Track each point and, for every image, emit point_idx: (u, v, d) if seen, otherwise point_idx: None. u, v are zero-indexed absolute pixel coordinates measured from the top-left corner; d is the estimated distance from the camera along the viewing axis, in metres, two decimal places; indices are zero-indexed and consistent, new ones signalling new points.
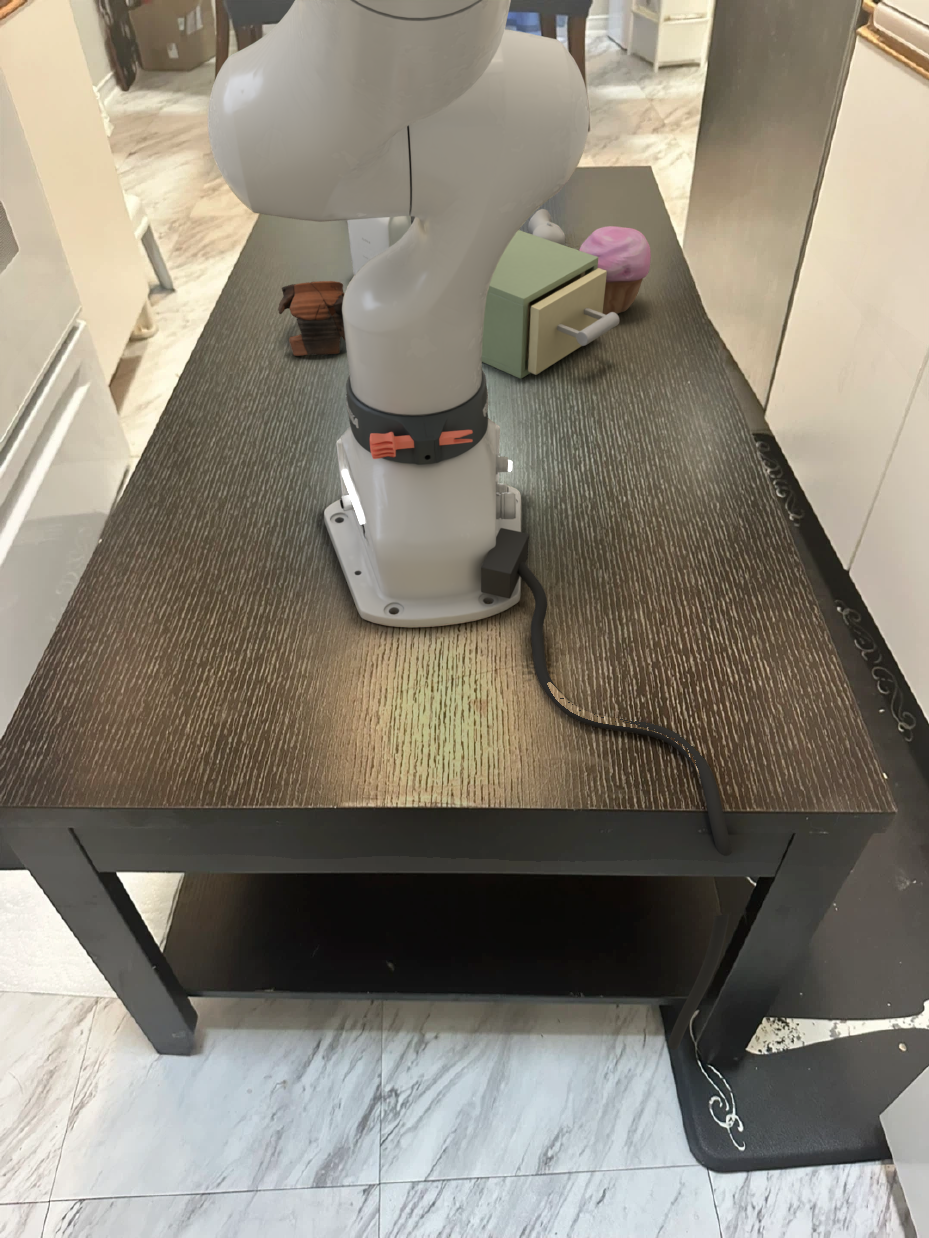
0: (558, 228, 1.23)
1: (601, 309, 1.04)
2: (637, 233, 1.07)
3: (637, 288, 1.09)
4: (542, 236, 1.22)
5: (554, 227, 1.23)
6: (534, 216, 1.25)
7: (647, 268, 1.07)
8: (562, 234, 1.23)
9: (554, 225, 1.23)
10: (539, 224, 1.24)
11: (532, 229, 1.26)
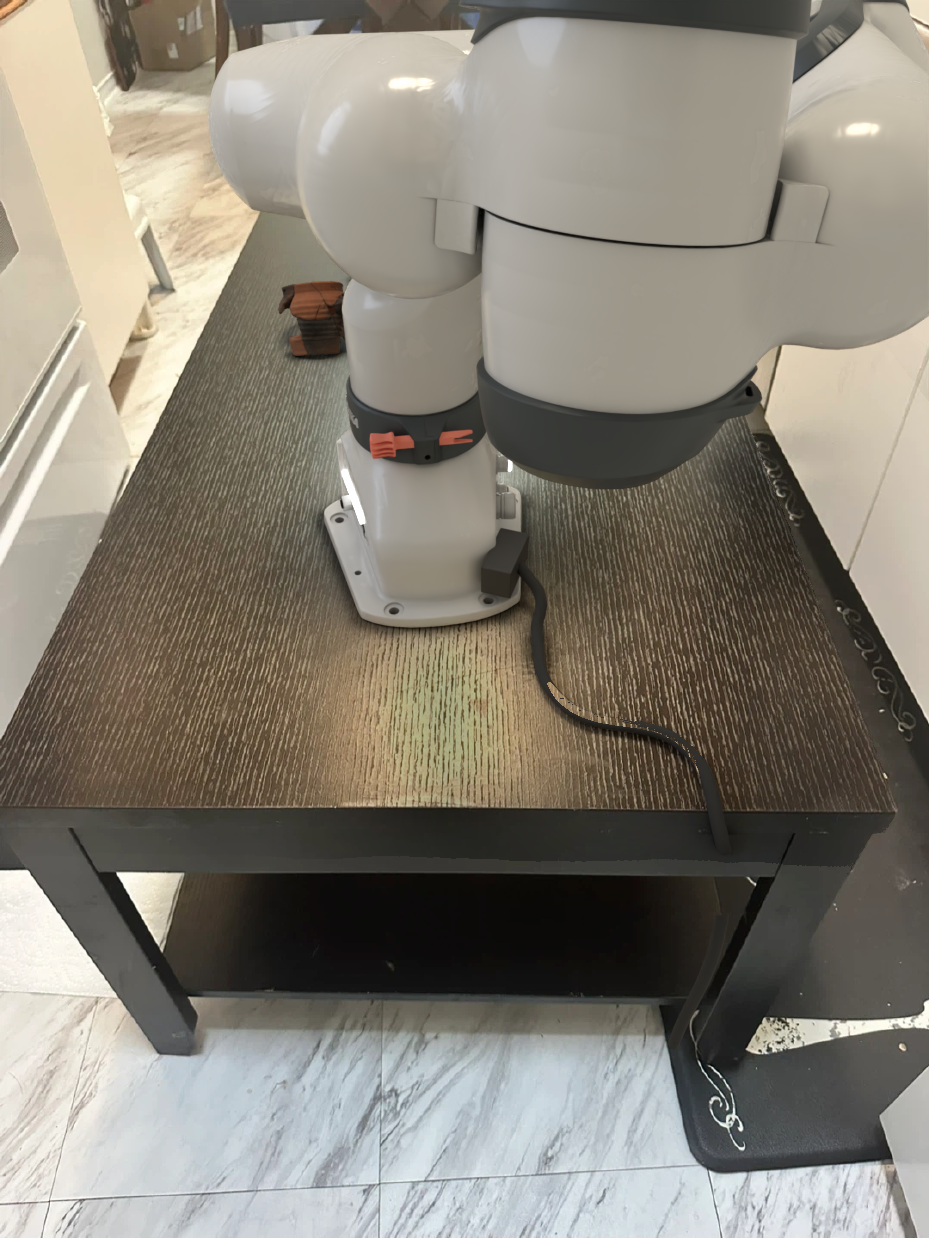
0: None
1: None
2: None
3: None
4: None
5: None
6: None
7: None
8: None
9: None
10: None
11: None
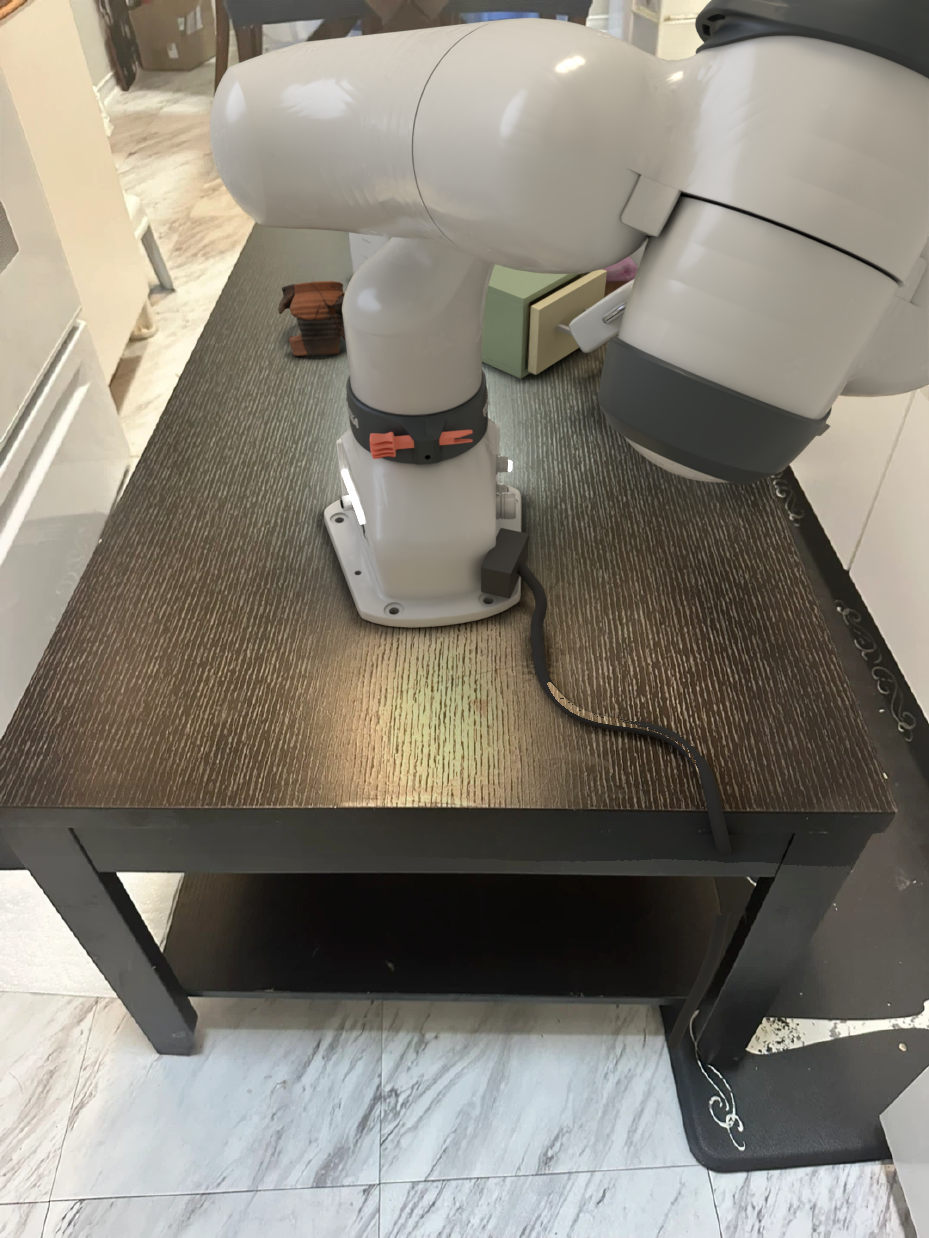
0: None
1: None
2: None
3: None
4: None
5: None
6: None
7: None
8: None
9: None
10: None
11: None
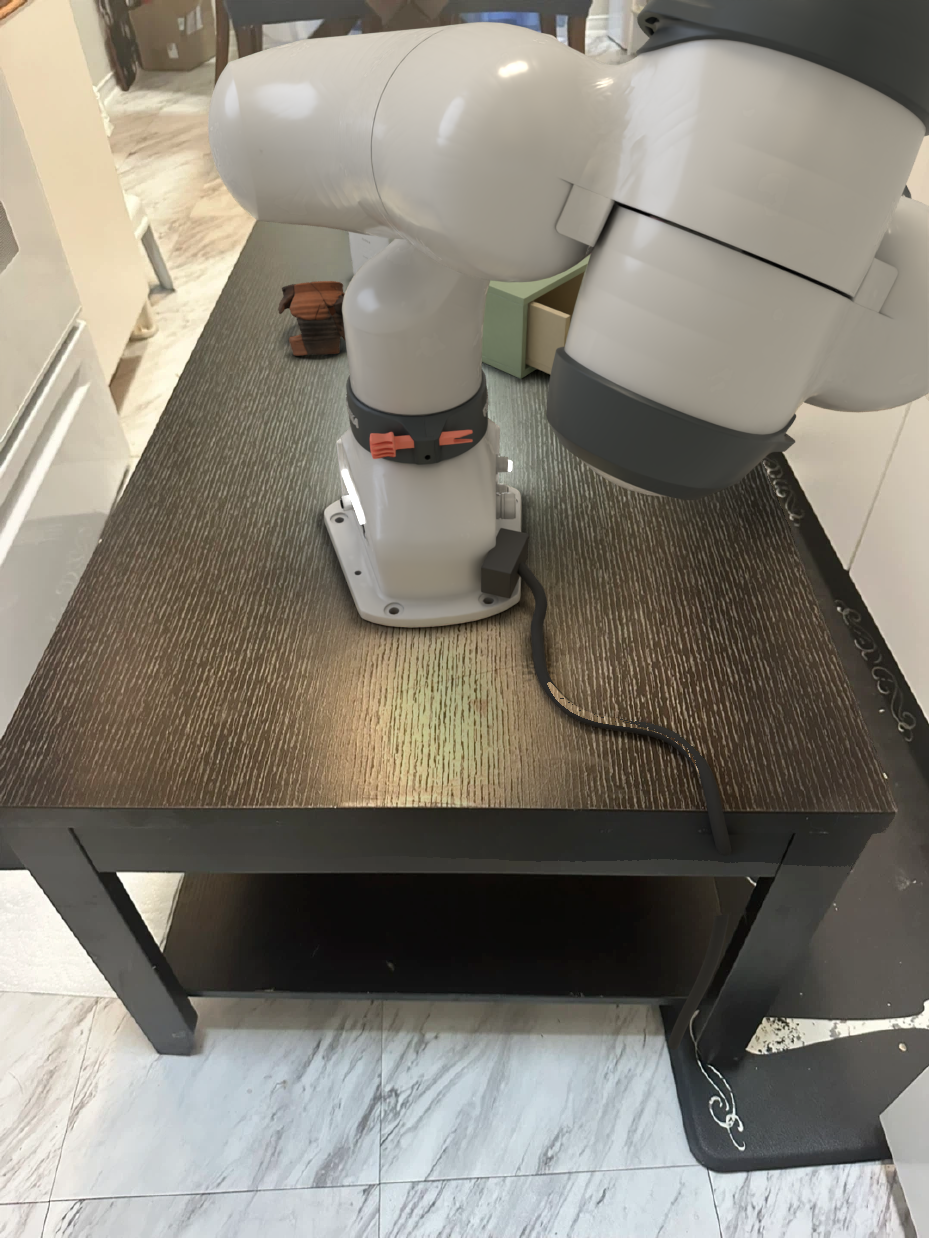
0: None
1: None
2: None
3: None
4: None
5: None
6: None
7: None
8: None
9: None
10: None
11: None
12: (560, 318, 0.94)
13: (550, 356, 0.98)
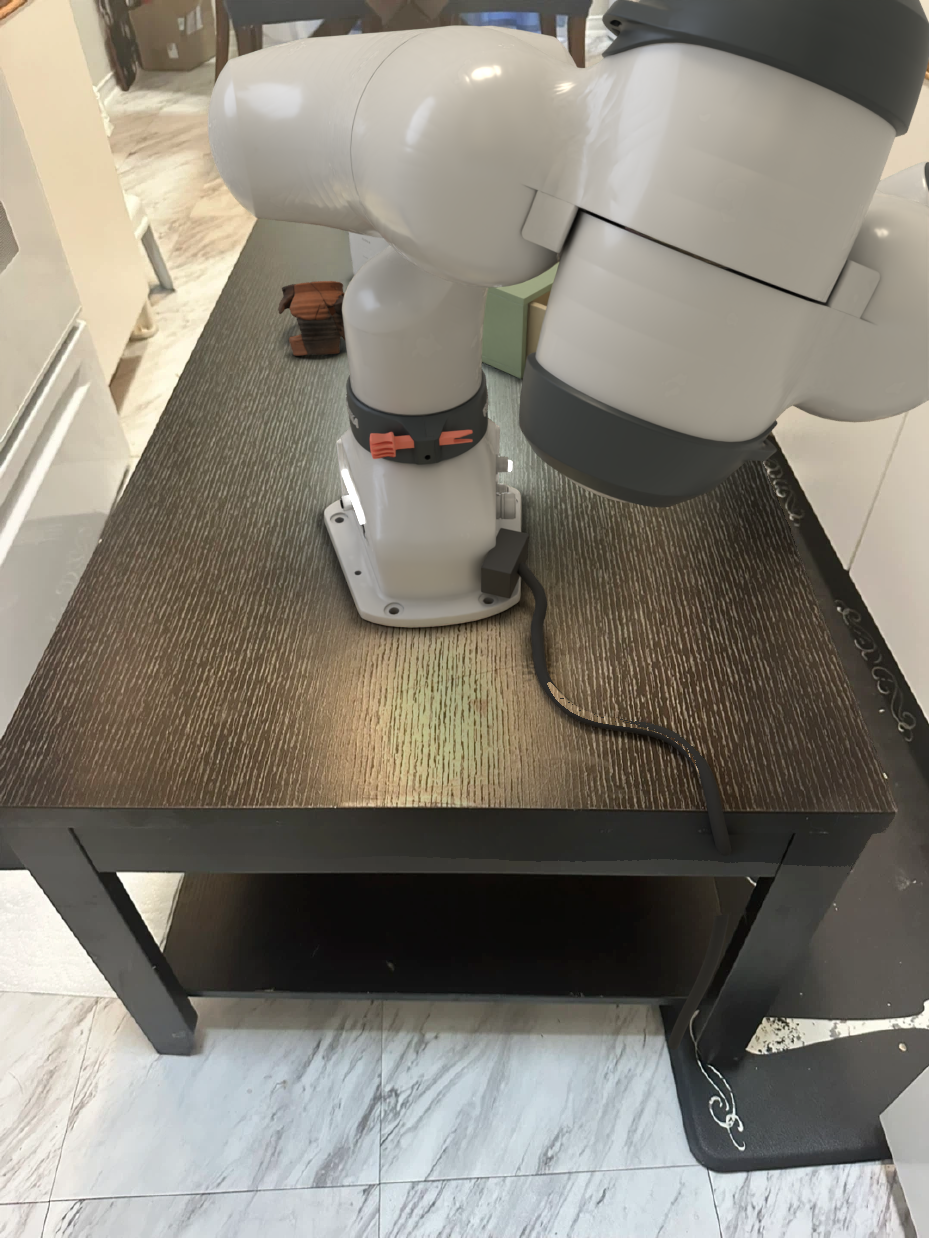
0: None
1: None
2: None
3: None
4: None
5: None
6: None
7: None
8: None
9: None
10: None
11: None
12: None
13: None
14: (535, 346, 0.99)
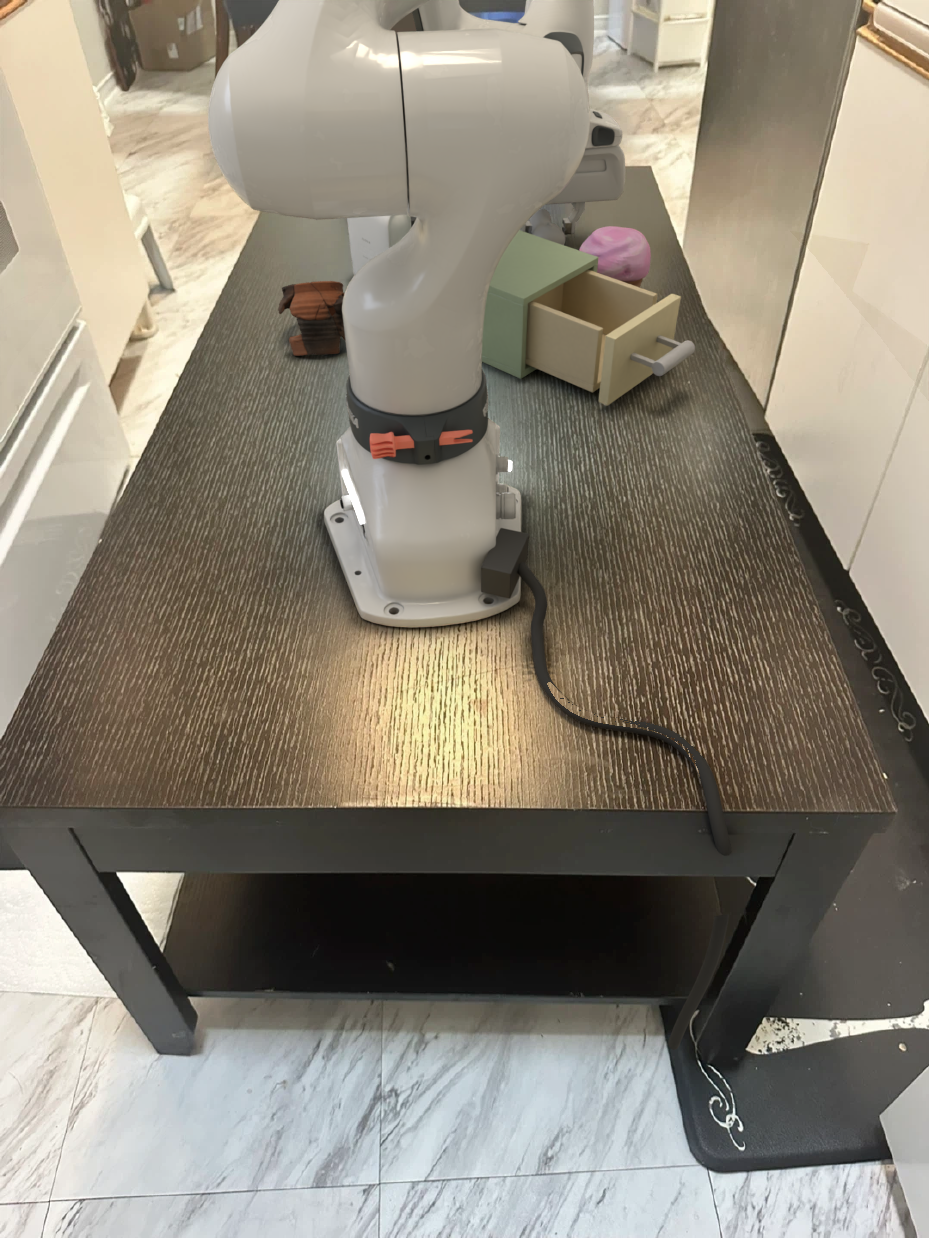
0: (558, 228, 1.23)
1: (673, 336, 0.99)
2: (637, 233, 1.07)
3: None
4: (542, 236, 1.22)
5: (554, 227, 1.23)
6: (534, 216, 1.25)
7: (647, 268, 1.07)
8: (562, 234, 1.23)
9: (554, 225, 1.23)
10: (539, 224, 1.24)
11: (532, 229, 1.26)
12: (592, 331, 0.92)
13: (581, 369, 0.96)
14: (534, 346, 0.99)
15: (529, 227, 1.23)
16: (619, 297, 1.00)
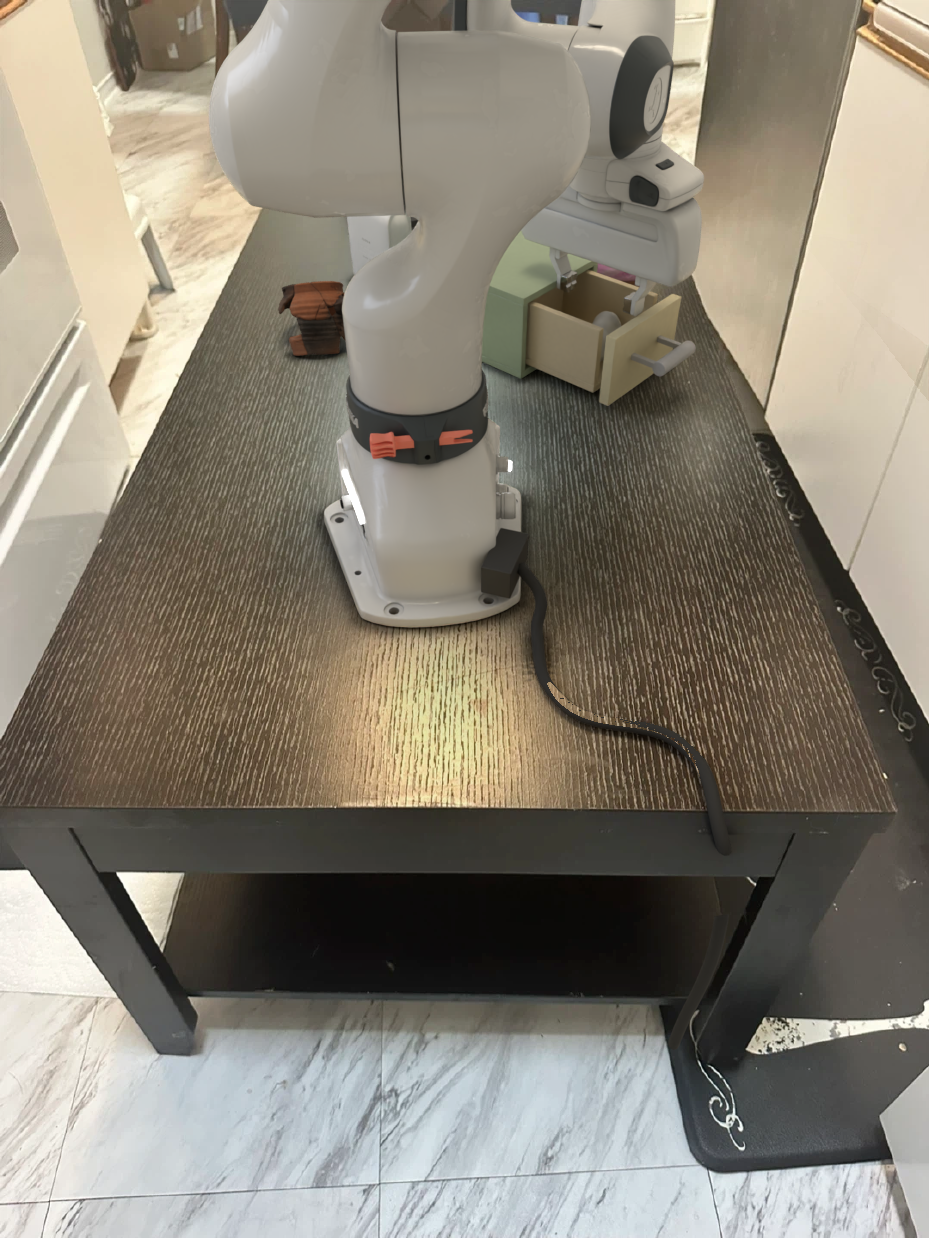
0: None
1: (673, 336, 0.99)
2: None
3: None
4: None
5: None
6: (597, 316, 1.00)
7: None
8: None
9: None
10: None
11: None
12: (593, 331, 0.92)
13: (581, 369, 0.96)
14: (535, 346, 0.99)
15: (565, 279, 0.96)
16: (620, 297, 1.00)
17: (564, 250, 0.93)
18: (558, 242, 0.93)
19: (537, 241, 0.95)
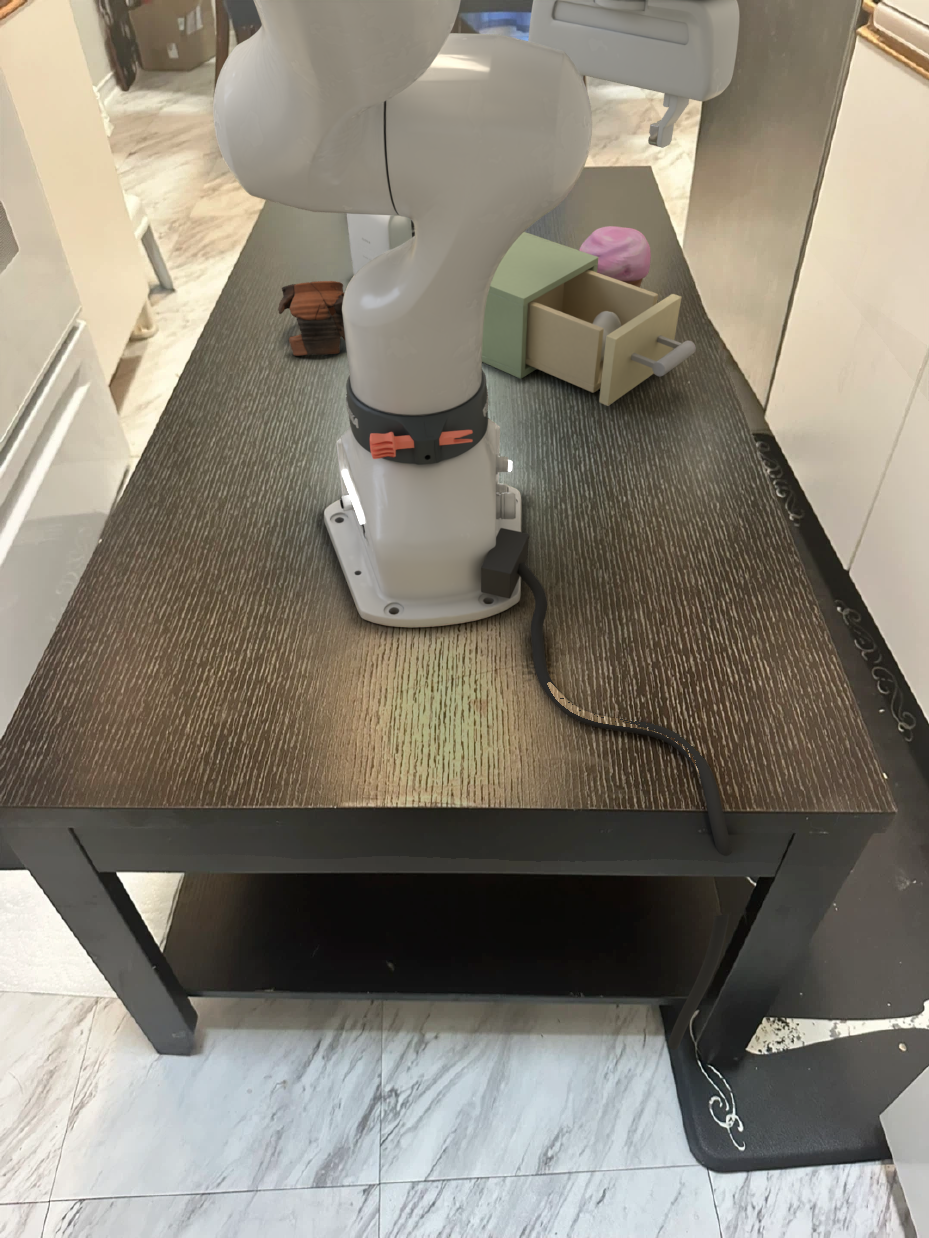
0: None
1: (673, 336, 0.99)
2: (637, 233, 1.07)
3: None
4: None
5: None
6: (597, 316, 1.00)
7: (647, 268, 1.07)
8: None
9: None
10: None
11: None
12: (593, 331, 0.92)
13: (582, 369, 0.96)
14: (535, 346, 0.99)
15: None
16: (620, 297, 1.00)
17: (579, 71, 0.82)
18: (572, 62, 0.82)
19: None
